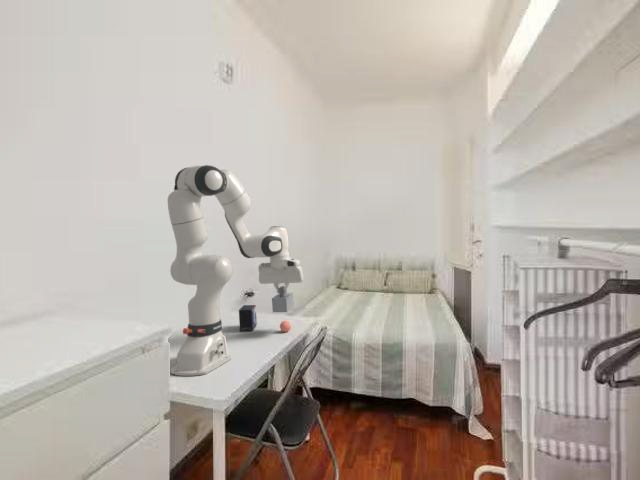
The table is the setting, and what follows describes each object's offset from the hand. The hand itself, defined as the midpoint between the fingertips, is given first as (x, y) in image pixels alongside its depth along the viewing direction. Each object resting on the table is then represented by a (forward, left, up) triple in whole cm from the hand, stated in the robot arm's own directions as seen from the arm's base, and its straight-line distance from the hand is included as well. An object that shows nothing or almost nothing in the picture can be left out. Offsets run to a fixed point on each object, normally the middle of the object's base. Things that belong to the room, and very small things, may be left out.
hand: (282, 292), depth 165 cm
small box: (+7, +20, -19) cm, 28 cm away
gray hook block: (+1, 0, -8) cm, 8 cm away
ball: (+2, 0, -16) cm, 16 cm away
